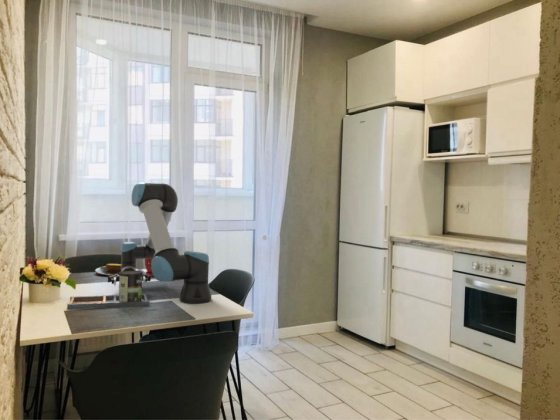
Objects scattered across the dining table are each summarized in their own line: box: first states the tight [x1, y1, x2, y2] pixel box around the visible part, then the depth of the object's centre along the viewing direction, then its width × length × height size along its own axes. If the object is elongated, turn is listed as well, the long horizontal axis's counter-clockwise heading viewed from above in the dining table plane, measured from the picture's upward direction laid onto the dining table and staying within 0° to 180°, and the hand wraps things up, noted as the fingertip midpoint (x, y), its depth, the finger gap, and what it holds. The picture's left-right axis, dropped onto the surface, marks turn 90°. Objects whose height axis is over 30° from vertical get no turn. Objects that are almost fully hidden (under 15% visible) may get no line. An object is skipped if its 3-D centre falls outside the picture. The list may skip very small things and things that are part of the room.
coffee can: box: [118, 270, 144, 302], centre depth 218 cm, size 10×10×14 cm
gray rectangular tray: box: [66, 293, 150, 310], centre depth 215 cm, size 34×16×2 cm, turn 109°
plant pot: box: [144, 258, 155, 278], centre depth 288 cm, size 13×13×12 cm
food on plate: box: [94, 263, 139, 277], centre depth 290 cm, size 25×25×7 cm
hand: (129, 282), depth 227 cm, fingers open, 13 cm apart
